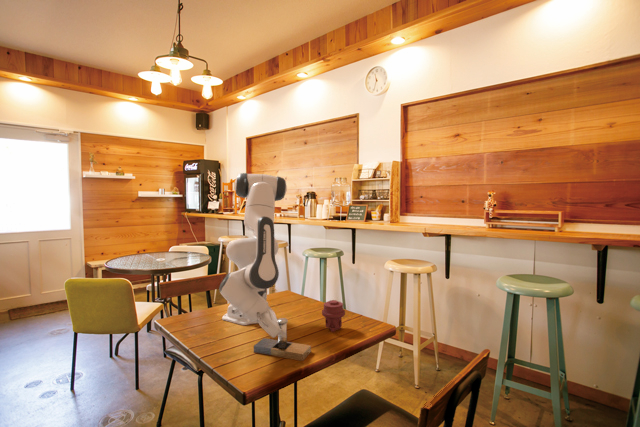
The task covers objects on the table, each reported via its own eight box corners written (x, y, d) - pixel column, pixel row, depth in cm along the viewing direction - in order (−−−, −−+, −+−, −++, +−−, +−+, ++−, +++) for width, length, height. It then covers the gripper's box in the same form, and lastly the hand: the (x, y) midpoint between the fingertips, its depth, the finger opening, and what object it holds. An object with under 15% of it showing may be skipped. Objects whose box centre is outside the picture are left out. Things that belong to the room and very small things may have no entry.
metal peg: (275, 347, 122) (274, 321, 122) (280, 343, 126) (279, 317, 126) (284, 349, 121) (284, 322, 121) (289, 344, 125) (289, 318, 124)
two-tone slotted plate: (253, 352, 124) (253, 345, 124) (264, 344, 131) (263, 338, 131) (302, 360, 117) (302, 354, 117) (310, 351, 124) (310, 345, 124)
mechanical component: (346, 325, 149) (343, 334, 139) (324, 324, 151) (320, 333, 141) (346, 298, 148) (343, 305, 139) (324, 297, 150) (319, 304, 141)
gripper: (265, 311, 111) (294, 337, 114) (260, 295, 131) (285, 317, 134) (251, 326, 110) (281, 351, 113) (249, 307, 130) (275, 329, 133)
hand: (283, 332), depth 124 cm, fingers closed on metal peg, 3 cm apart
